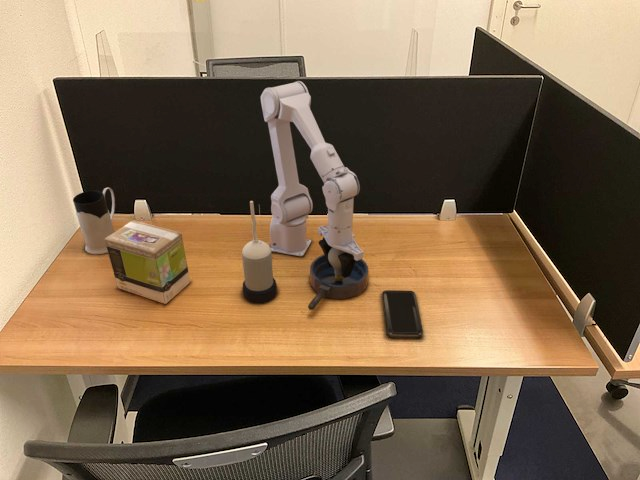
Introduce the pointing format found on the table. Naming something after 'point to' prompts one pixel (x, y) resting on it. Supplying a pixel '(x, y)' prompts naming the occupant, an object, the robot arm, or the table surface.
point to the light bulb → (336, 262)
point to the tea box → (148, 260)
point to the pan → (339, 289)
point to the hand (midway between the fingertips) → (339, 270)
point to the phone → (401, 314)
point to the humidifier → (258, 268)
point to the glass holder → (94, 219)
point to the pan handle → (319, 296)
